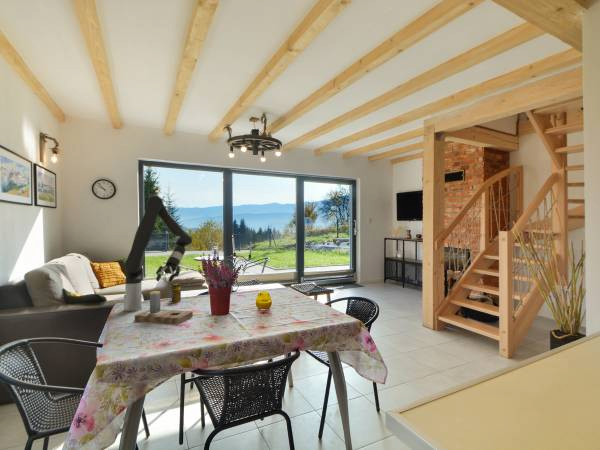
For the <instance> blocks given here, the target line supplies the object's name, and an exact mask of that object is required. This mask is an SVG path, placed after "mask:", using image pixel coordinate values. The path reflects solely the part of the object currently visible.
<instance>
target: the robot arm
mask: <svg viewBox="0 0 600 450" xmlns="http://www.w3.org/2000/svg"><path fill="white" fill-rule="evenodd" d="M157 217H159V218H160V219H161V221H162V222H163V223H164V225H165V226H166V228H167V229H168V230H169V232H170V234H172V235H173V236H174V237H179V238H178V239H177V240H176V242H175V245H174V248H173V251H171V254H170V255H169V257H168V259H167V260H166V262H165V265H164V266H162V265H160V266H159V267H158V268H157V270H156V273H155V274H156V275H157V276H156V277H155V281H157V282H159V281H160V280H161V278H162V276H163V275H168V274H169V275H170V274H171V275H170V276H169V278H168V282H169V283H171V282H173V281H174V278H175V277H179V275H180V273H181V271H182V269H181V267H180V266H179V265H180V263H181V262H182V260H183V257H184V255H185V253H186V248H185V247H187V246H189V245H191V244H192V243H193V237H192V235H190V234H189V232H188V231H186V230H185V229H183V228H182V227H181V225H180V223H178V221H177V220H176V219H175V218H174V217H173V216H172V215H171V213H170V212H169V211H168V210H167V208H166V206H165V204H164V201H163V199H162V197H160V195H156V194H155V195H151V196H149V198H148V199H147V203H146V206H145V211H144V214H143V216H142V218H141V220H140V222H139V224H138V227H137V229H136V232H135V234H134V238H133V242H132V246H131V248H130V252H129V254H128V256H127V258H126V260H125V262H124V266H123V267H124V269H125V272H126V273H125V275H126V276H125V280H124V283H125V287H124V289H125V290H124V291H125V293H124V295H123V310H124V311H126V312H136V311H139V310H142V303H143V302H142V295H143V294H142V291H143V290H142V278H143V262H142V257H143V255H144V252H145V250H146V249H147V247H148V245H149V242H150V241H151V238H152V236H153V233H154V230H155V225H156V220H157Z"/></svg>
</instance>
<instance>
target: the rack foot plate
mask: <svg viewBox="0 0 600 450" xmlns="http://www.w3.org/2000/svg"><path fill="white" fill-rule="evenodd" d="M193 311H194V310H193ZM193 311H192V310H191V311H190V310H177V309H176V310H174V309H164V308H163V309H161V308H160V312H158V313H150V308H149V309H146V310H145V311H142V312H140V313H137V314H135V315H134V321H137V322H151V323H152V322H153V323H162V324H163V323H164V324H165V323H166V324H176V325H180V324H181V323H183V322H184V321H187V320H188V319H191V318H192V317H193Z"/></svg>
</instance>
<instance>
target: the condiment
mask: <svg viewBox="0 0 600 450" xmlns="http://www.w3.org/2000/svg"><path fill="white" fill-rule="evenodd" d="M171 286H172V287H171V300H167V301H166V302H168V303H169V304H174V303H182V302H183V300H182V299H181V298H182V291H181V290H182V289H181V284H179V283H174V284H172V285H171Z"/></svg>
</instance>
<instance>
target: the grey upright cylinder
mask: <svg viewBox="0 0 600 450" xmlns="http://www.w3.org/2000/svg"><path fill="white" fill-rule="evenodd" d="M149 309H150V313H158V312H160V309H161V291H160V290H154V291H150V292H149Z"/></svg>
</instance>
